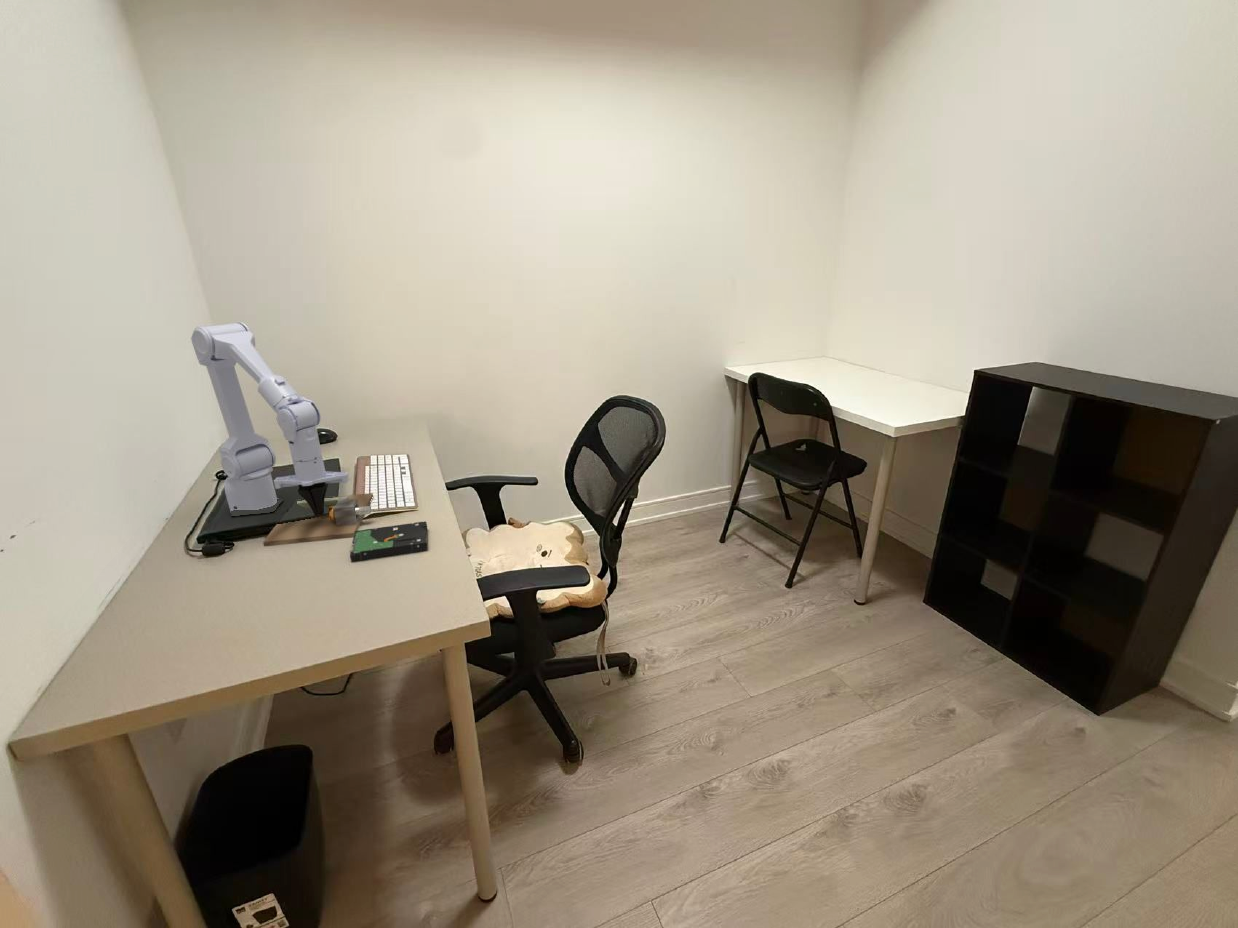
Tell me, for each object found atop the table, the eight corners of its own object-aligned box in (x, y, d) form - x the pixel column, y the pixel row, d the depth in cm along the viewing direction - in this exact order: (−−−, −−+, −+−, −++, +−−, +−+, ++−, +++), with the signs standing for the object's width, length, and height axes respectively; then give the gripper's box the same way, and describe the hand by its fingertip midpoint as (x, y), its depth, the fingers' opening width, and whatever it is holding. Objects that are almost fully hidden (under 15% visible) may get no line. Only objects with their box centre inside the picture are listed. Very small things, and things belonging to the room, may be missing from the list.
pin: (330, 523, 127) (327, 509, 126) (334, 517, 130) (331, 503, 129) (369, 519, 128) (367, 506, 127) (372, 513, 131) (370, 500, 130)
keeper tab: (296, 504, 129) (296, 500, 129) (306, 509, 135) (306, 505, 135) (339, 500, 130) (339, 496, 131) (347, 505, 137) (347, 501, 137)
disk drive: (427, 531, 127) (356, 541, 123) (426, 520, 126) (354, 530, 122) (428, 553, 118) (351, 565, 114) (427, 541, 117) (348, 552, 113)
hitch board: (264, 546, 121) (258, 523, 119) (296, 503, 141) (291, 483, 139) (354, 536, 124) (349, 514, 122) (373, 496, 144) (369, 477, 142)
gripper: (263, 466, 117) (278, 525, 122) (339, 461, 120) (350, 518, 125) (275, 455, 124) (288, 511, 129) (346, 450, 127) (356, 505, 131)
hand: (319, 514), depth 127 cm, fingers closed
